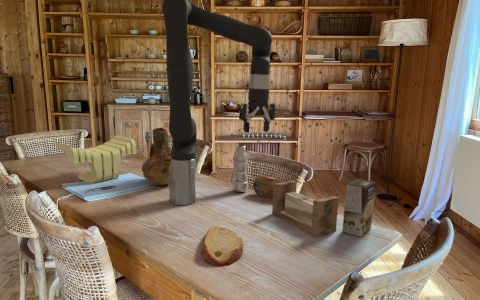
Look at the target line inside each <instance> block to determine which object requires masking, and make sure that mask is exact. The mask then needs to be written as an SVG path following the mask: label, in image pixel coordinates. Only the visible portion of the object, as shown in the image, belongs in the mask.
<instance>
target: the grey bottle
mask: <svg viewBox="0 0 480 300" xmlns="http://www.w3.org/2000/svg"><path fill="white" fill-rule="evenodd" d="M246 147H247V146H246V144H236V149H235V150H236V151H235V152H234V154H233V156H232V161H233V162H232V163H233V180H232V185H231V188H232V190H233V191H234V192H235V193H246V192H247V191H248V188H249V182H248V174H247V173H248V164H249V156H248V153H247V152H246V150H247V149H246Z"/></svg>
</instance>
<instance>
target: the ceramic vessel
mask: <svg viewBox="0 0 480 300" xmlns="http://www.w3.org/2000/svg"><path fill="white" fill-rule="evenodd" d="M168 132H169V131H168V130H167V129H166V128H164V127H157V128H156V127H155V128H153V129H152V141H153V142H152V143H151V144H150V151H149V158H148V159H146V160H145V161H144V162H143V163H142V165H141V171H142V172H143V173H142V174H143V176H144V179H146V180H147V181H148V182H149V183H151V184H152V185H156V186H165V185H169V177H171V149H172V147H171V146H170V145H169V133H168Z"/></svg>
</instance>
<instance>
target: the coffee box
mask: <svg viewBox="0 0 480 300" xmlns="http://www.w3.org/2000/svg"><path fill="white" fill-rule="evenodd" d="M376 186H377V182H376V181H371V180H368V179H367V180H366V179H360V178H356V179H354V180H352V181H349V182H347V183H346V187H345V188H346V190H345V198H344V209H343V219H342V220H343V221H342V232H343V233H346V234H350V235H353V236H355V237H360V238H361V237H362V236H363V235H364V234H366V233H367V232H368V231H370V230H371V229H372V223H373V214H374V204H375V197H376V196H375V195H376Z"/></svg>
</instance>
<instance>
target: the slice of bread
mask: <svg viewBox="0 0 480 300" xmlns="http://www.w3.org/2000/svg"><path fill="white" fill-rule="evenodd" d="M201 252H202V255H203V258H204V259H205V260H206V262H207V263H209V264H211V265H213V266H215V267H219V268H220V267H227V266H231V265H233V263H235V261H237V260H239V259H240V258H241V257H242V255H243V254H244V241H243V239H242V238H241V237H240V236H239V235H238V234H237V232H235V231H233V230H231V229H230V228H226V227H221V226H210V228H209V229H208V230H207V231H206V234H205V237H204V240H203V243H202V247H201Z"/></svg>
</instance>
